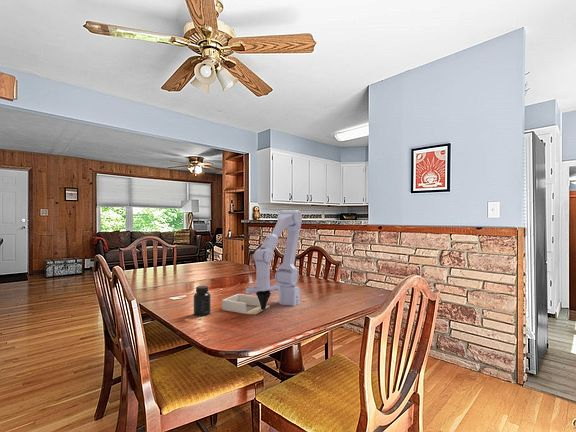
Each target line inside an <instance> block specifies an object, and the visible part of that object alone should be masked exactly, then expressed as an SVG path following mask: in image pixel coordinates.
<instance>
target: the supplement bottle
mask: <svg viewBox="0 0 576 432" xmlns="http://www.w3.org/2000/svg"><path fill="white" fill-rule="evenodd" d="M211 311H212V310H211V293H210V292H209V286H208V285H199V286H198V285H197V286H196V287H195V293H194V294H193V316H194V317H206V316H208V315H210V314H211V313H212V312H211Z"/></svg>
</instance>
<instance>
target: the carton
mask: <svg viewBox="0 0 576 432" xmlns="http://www.w3.org/2000/svg"><path fill="white" fill-rule="evenodd" d="M258 307H260V302H259V299H258V297H257V295H250V294H246V293H245V294H243V293H237V294H234V295H231V296H229V297H227V298H223V299H222V300H221V310H222V311H225V312H226V311H227V312H234V313H237V314H247V313H248V312H250V311H252V310H254V309H256V308H258Z"/></svg>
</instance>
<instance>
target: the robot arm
mask: <svg viewBox="0 0 576 432" xmlns="http://www.w3.org/2000/svg"><path fill="white" fill-rule="evenodd" d="M302 221H303V215H302V212H301V211H300V210H299V209H295V210H292V209H291V210H289V209H287V210H285V209H282V210H280V211H279V212H278V215H277V222H276V224H275V226H274V228H273V230H272V232H271V233H270V234H267V235H266V237H265V239H264V241H263V242H262V243H261V246H260V247H258V248H257V249H256V250H255V251H254V253H253V255H252V258H253V260H254V262H255V263H254V265H255V269H256V271H255V272H256V274H255V275H256V276H255V277H256V278H255V279H256V281H255V282H256V283H255V284H256V285H255V286H254V287H253V286H252V287H246V288H245V294H246V295H250V294H256V295H255V296H257V297H258V299H259V302H260V306H261V309H262V310H263V311H265V310H266V309H265V308H266V305H267V303H268V301H269V298H270V296H271V295H272V294H271V292H276V291H277V292H278V304H279V305H282V306H292V307H295V306H297V305H298V304H300V303H301V299H300V298H301V296H300V295H301V290H300V287H299V286H296V285H297V284H298V281H299V270H298V268H297V267H296V266H295V262H296V254H297V248H298V242H299V237H300V231H301V228H302ZM285 229H287V236H286V237H287V238H286V243H285V248H284V255H283V260H282V263H281V264H280V265H278V266H277V269H276V272H275V275H274V281H275V282H276V285H271V277H270V276H271V274H270V273H271V267H270V266H271V262H272V260H274V259H273V258H274V254H275V253H274V250H275V249H276V247H277V246H278V244H279V237H280V236H281V234H282V233H283V232H284V231H285ZM264 309H265V310H264Z"/></svg>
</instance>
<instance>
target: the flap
mask: <svg viewBox="0 0 576 432" xmlns="http://www.w3.org/2000/svg"><path fill="white" fill-rule="evenodd" d="M269 308H270V305H269V304H268V305H267V304H266V308H265V309H264V310H262V309H261V306H260V307H258V308H256V309H254V310H252V311H250V312H248V313H246V314H247V315H257V314H259V313H261V312H263V311H265V310H267V309H269Z"/></svg>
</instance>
